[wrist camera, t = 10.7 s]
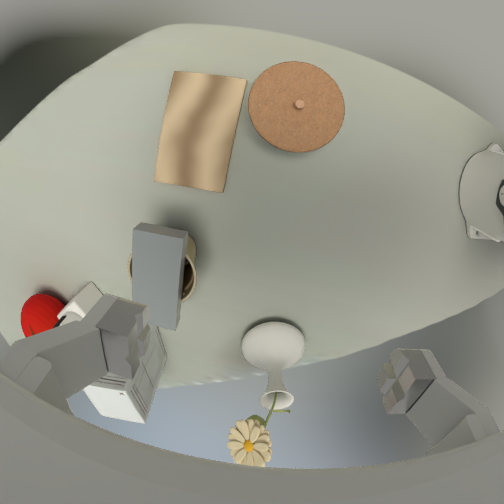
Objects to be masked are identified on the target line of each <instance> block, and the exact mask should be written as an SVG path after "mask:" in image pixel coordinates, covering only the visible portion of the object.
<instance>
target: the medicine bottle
mask: <svg viewBox="0 0 504 504" xmlns="http://www.w3.org/2000/svg"><path fill="white" fill-rule="evenodd" d="M102 296H103V294H102V293H101V292H100V291H99V290H98V289H97V287H96V286H95V285H94V284H93V283H92V282H90V283H89V284H88V285H87V286H86V287H84V288H83V289H82V290H81V291H80V292H79V293H78V294H77V295H75V296H74V297H73V298H72V299H71V301H70V302H69V303H68V304H67V305H66V306H65V307H64V308H63V309H62V311H61V312H60V313H59V314H58V315H57V317H58V319H59V320H58V322H57V323H56V324H55V325H54V326H53V328H56V327H58V326H61V325H64V324H67V323H70V322H73V321H75V320H77V321H81V320H82V319H83V318H84V316H85V315H86V314H87V313H88V312H89V311H90V309H91V308H92V307H93V306H94V305H95V304H96V303H97V301H98V300H99V299H100V298H101V297H102Z"/></svg>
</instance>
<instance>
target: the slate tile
mask: <svg viewBox="0 0 504 504" xmlns="http://www.w3.org/2000/svg"><path fill="white" fill-rule="evenodd" d="M187 239H188V231H184V230H179V229H174V228H169V227H163V226H158V225H153V224H147V223H142V222H141V223H140V224H139V225H137V226H136V227H135V228H134V229H133V242H132V301H134V302H137V303H140V304H144V305H147V306H149V307H150V319H149V320H148V322H147V323H148V324H149V325H153V326H157V327H162V328H166V329H170V330H175V331H176V328H177V325H178V323H179V320H180V309H181V297H182V286H183V275H184V266H185V256H186V248H187Z"/></svg>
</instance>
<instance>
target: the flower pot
mask: <svg viewBox="0 0 504 504" xmlns="http://www.w3.org/2000/svg"><path fill="white" fill-rule="evenodd" d="M195 256H196V246H195V243H194V241H193V239H192V238H191V237H190V236H189V235H188V239H187V248H186V256H185V259H188V261H186V262H185V266H184V275H183V286H182V297H181V303H182V302H183V301H185V300H186V299H188V298H189V297H190V296H191V294H192V293H193V291H194V289H195V286H196V281H197V274H196V269H195V266H194V263H195ZM128 274H129V278H130V281H131V283H132V253H131V255H130V257H129V261H128Z"/></svg>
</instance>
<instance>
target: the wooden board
mask: <svg viewBox="0 0 504 504" xmlns="http://www.w3.org/2000/svg"><path fill="white" fill-rule="evenodd" d="M246 83H247V80H245V79H239V78H233V77H226V76H219V75H211V74H202V73H192V72H180V71H174V74H173V78H172V82H171V86H170V91H169V96H168V100H167V105H166V110H165V115H164V120H163V126H162V131H161V137H160V143H159V149H158V156H157V163H156V170H155V178H154V181H157V182H163V183H169V184H175V185H181V186H187V187H193V188H198V189H204V190H209V191H215V192H220V193H223V191H224V186H225V181H226V176H227V171H228V166H229V161H230V156H231V151H232V146H233V141H234V137H235V132H236V127H237V123H238V118H239V114H240V109H241V105H242V100H243V96H244V92H245V87H246Z"/></svg>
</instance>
